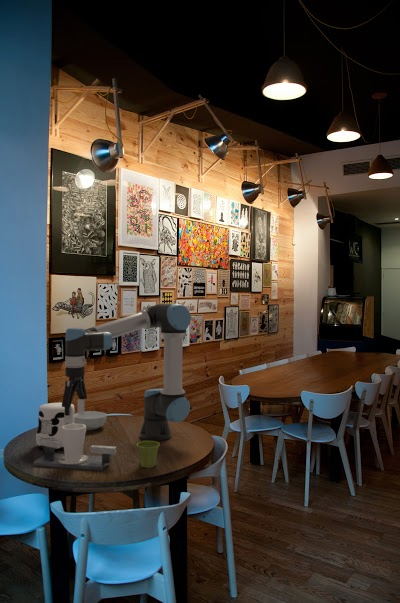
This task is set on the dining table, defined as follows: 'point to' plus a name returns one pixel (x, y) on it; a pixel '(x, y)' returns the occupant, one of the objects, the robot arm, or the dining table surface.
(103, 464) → the shaft stand
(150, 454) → the plant pot
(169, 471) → the dining table surface
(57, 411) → the milk container
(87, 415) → the cereal bowl
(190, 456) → the dining table surface
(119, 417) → the dining table surface
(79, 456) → the foam cup
